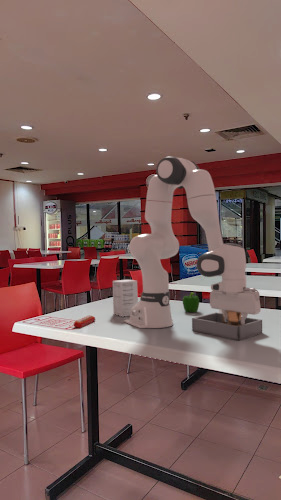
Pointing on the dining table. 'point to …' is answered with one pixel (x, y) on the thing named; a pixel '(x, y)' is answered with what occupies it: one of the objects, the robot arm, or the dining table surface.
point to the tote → (226, 327)
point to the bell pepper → (191, 303)
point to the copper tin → (234, 318)
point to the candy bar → (84, 321)
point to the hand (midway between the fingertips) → (234, 323)
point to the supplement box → (124, 296)
